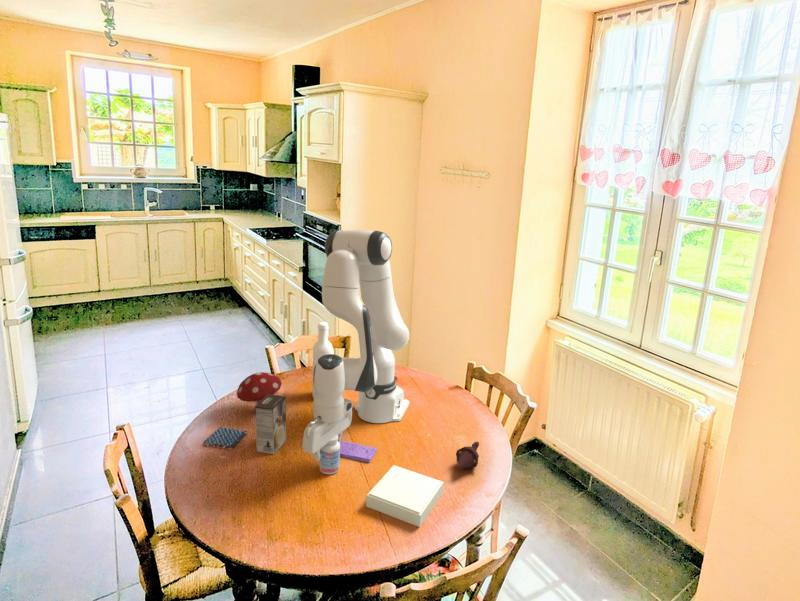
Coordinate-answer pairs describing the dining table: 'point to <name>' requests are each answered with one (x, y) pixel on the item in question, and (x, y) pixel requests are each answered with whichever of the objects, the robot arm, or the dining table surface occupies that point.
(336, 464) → the pill bottle
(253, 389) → the decorative mushroom
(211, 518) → the dining table surface
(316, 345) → the bottle
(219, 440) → the woven mat
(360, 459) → the sponges
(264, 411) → the coffee box
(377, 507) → the base block
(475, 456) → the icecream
